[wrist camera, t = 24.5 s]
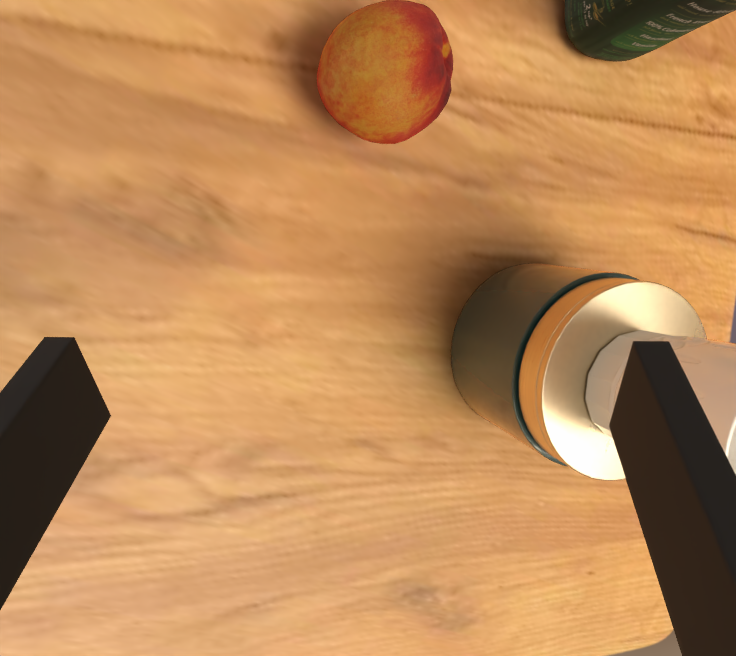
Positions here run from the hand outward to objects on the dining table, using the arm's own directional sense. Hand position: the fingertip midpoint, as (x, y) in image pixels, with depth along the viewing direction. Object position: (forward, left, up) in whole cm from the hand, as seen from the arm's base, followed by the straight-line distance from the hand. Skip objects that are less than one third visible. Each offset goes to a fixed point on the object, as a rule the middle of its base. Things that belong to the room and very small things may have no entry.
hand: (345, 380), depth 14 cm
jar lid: (-3, +23, -15) cm, 27 cm away
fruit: (-15, +4, -26) cm, 30 cm away
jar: (-3, +23, -26) cm, 34 cm away
